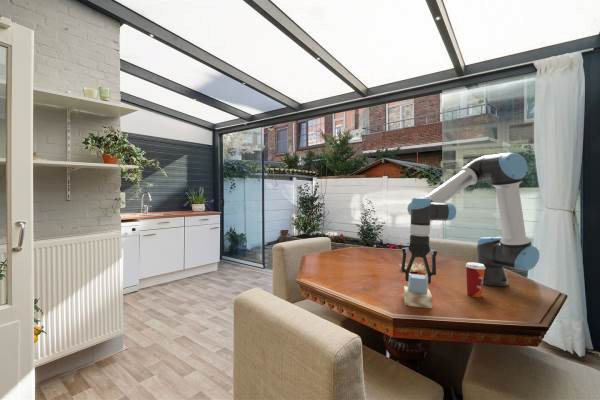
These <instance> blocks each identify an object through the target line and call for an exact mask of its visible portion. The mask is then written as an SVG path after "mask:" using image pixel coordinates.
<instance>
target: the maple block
mask: <svg viewBox="0 0 600 400" xmlns="http://www.w3.org/2000/svg"><path fill="white" fill-rule="evenodd" d="M403 300H404V302H403V303H404V306H407V305H408V306H410V307H416V308H426V309H432V308H433V295H432V293H431V291H430V289H429V288H428V292H426V294H423V293H414V292H410V290H408V285H407V286H406V285H404V286H403Z"/></svg>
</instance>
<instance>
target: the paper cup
mask: <svg viewBox="0 0 600 400" xmlns="http://www.w3.org/2000/svg"><path fill="white" fill-rule="evenodd" d="M465 269H466V294H467V295H468V296H469V297H472V298H473V297H474V298H482V296H483V287H484V284H483V280H484V270H485V266H484V265H483V264H480V263H477V262H473V261H472V262H467V263H466V264H465Z"/></svg>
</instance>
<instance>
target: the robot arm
mask: <svg viewBox="0 0 600 400" xmlns="http://www.w3.org/2000/svg"><path fill="white" fill-rule="evenodd" d="M527 172H528V164H527V160H526V159H525V157H524V156H523V155H521V154H520V153H519V152H518V153H517V152H504V153H498V154H488V155H482V156H481V157H480V156H479V157H478V158H476V159H473V160H471V161H470V162H469V163H467V164H466V165H464V166H463V167H461V168H460V170H459V171H458V173H456V174H455V175H453V176H452V177H451V178H449V179H448V180H447V181H445V182H443V183H442V184H440V185H439V186H438V187H436V188H435V189H433V190H431V192H430V193H428V194H427V195H425V196H424V197H413V198H411V201H410V202H409V204H408V205H407V212H408V215H409V216H410V229H409V232H410V235H409V244H408V247H407V246H406V247H402V248H401V251H402V260H401V266H400V271H401V272H402V273H405V274H404V275H405V276H404V277H405V279H404V280H405V282H407V287H408V290H410V278H411V274H412V273H410V271H411V269H412V267H413V264H414V261H415V260H416V258H420V259H421V258H422V260H423V263H424V266H425V271H426V274H425V277H426V279H427V285H426V292H428V289H429V284H431V283H432V276H436V275H437V263H436V262H437V261H436V259H437V258H436V257H437V254H438V251H437V250H435V249H431V248H430V235H431V233H430V231H431V221H438V222H439V221H444V222H447V221H452V220H454V219H455V218H456V216H457V207H456V206H455V204H453V203H451V202H450V203H449V202H447V201H449V200H450V199H452V198H453V197H455V196H456V195H457V194H459V193H460V192H462V191H463V190H464V189H466V188H467V187H468V186H470V185H472V186H473V185H475V184H477V183H478V182H480V181H481V182H482V181H487V180H489V181H490V183H491V186H492V187H494V188H495V192H496V198H497V203H498V204H497V205H498V211H499V217H500V218H499V219H500V224H501V230H502V237H501V236H486V237H485V236H484V237H482V236H481V237H479V238H478V239H477V245H476V263H480V264H483V265H484V266H485V270H484V280H483V286H491V287H507V286H508V284H509V283H508V281H509V280H508V278H507V274H506V271H505V267H508V268H512V269H515V270H521V271H524V272H525V271H526V272H527V271H531V270H533V269H534V268H535V267H536V266H537V264H538V262H539V259H540V250H539V249H538V248H537V247H536V246H534V245H532V240H531V239H530V238H529V237H528V236H527V235H526V227H525V221H524V219H525V218H524V213H523V206H522V205H523V204H522V199H521V192H520V184H521V183H523V178H524V177H526V175H527ZM408 252H410V253H411V256H410V258H409V261H408V263H407V266H406V260H407V253H408ZM429 253H430V255H431V268H430V266H429V263H428V258H427V255H428V254H429Z"/></svg>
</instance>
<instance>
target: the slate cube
mask: <svg viewBox="0 0 600 400" xmlns="http://www.w3.org/2000/svg"><path fill="white" fill-rule="evenodd" d="M410 274H411V278H410V292H414V293H423V294H426V285H427V279H426V277H425V275H424V274H417V273H410Z"/></svg>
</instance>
